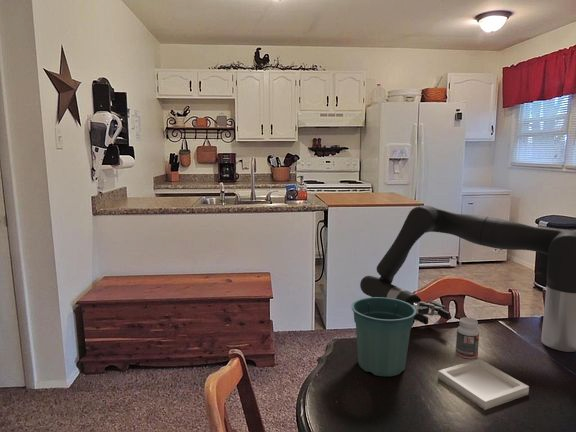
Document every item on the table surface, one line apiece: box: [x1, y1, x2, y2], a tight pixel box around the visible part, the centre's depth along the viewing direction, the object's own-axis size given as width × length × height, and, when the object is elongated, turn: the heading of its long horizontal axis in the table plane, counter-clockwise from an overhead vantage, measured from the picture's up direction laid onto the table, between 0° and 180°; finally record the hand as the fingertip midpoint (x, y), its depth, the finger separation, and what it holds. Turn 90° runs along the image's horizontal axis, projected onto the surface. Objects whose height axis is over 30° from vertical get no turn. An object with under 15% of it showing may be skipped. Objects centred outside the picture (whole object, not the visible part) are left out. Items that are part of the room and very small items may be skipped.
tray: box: [437, 358, 530, 411], centre depth 99 cm, size 14×14×2 cm
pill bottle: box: [455, 316, 480, 360], centre depth 114 cm, size 6×6×10 cm
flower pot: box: [350, 296, 416, 377], centre depth 108 cm, size 16×16×16 cm
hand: (438, 319), depth 123 cm, fingers open, 8 cm apart
